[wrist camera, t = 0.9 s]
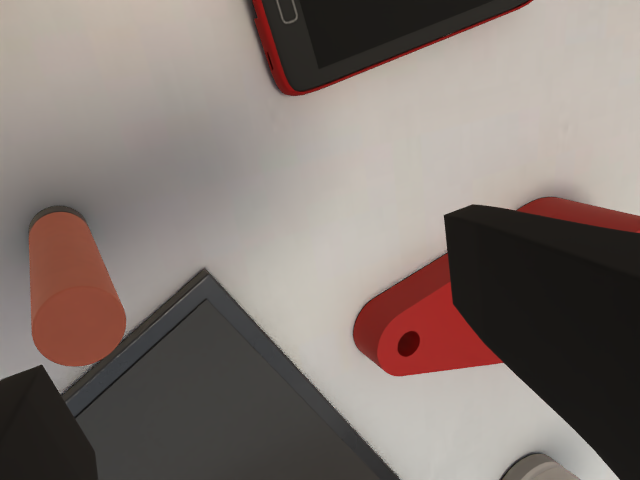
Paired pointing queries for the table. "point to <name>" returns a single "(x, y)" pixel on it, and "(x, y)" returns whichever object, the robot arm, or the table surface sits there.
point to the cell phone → (358, 34)
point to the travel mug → (538, 469)
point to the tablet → (212, 403)
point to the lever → (448, 307)
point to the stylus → (71, 291)
